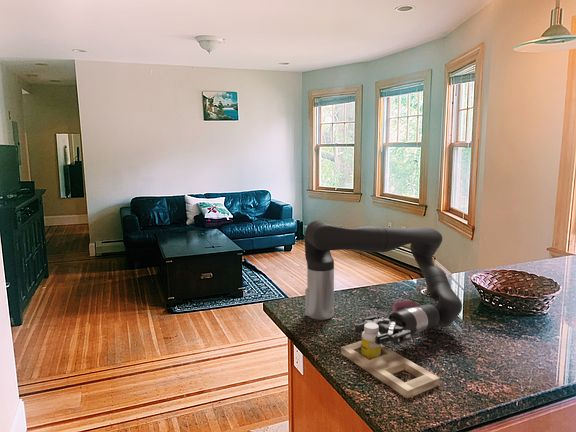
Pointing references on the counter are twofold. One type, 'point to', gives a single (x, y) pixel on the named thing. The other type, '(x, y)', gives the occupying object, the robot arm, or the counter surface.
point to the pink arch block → (404, 305)
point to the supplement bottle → (370, 341)
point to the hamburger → (424, 290)
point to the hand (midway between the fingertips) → (365, 334)
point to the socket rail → (392, 370)
